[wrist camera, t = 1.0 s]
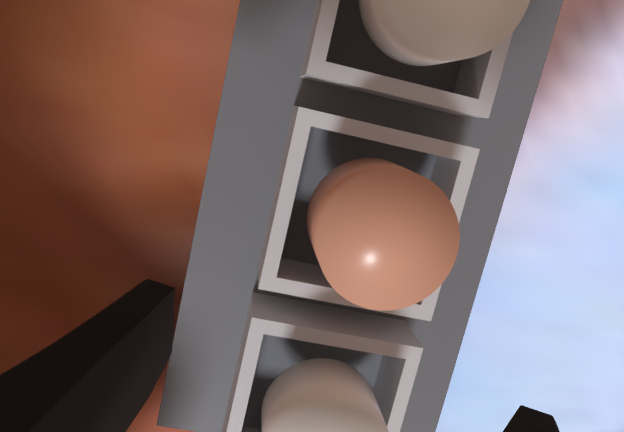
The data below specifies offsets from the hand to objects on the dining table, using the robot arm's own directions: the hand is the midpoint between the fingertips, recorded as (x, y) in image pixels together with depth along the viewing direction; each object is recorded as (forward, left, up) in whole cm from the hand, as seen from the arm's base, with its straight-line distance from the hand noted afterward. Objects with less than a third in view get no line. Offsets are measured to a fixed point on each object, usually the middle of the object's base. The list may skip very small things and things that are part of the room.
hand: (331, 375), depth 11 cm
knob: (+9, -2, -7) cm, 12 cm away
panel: (+2, -2, -12) cm, 12 cm away
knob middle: (+2, -2, -7) cm, 8 cm away
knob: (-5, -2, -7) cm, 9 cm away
